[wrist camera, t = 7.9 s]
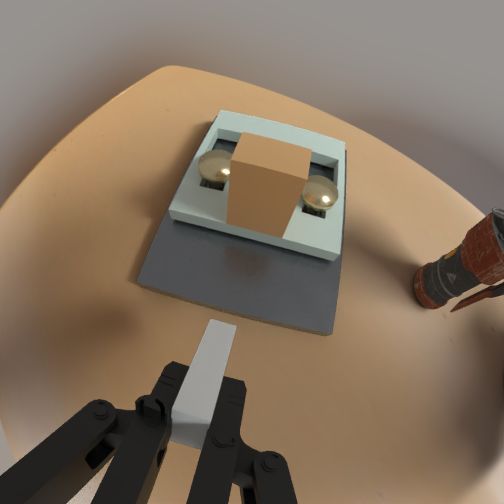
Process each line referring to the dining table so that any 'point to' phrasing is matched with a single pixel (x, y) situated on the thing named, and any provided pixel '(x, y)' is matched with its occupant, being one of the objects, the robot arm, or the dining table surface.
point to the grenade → (466, 267)
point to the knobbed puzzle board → (266, 186)
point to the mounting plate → (247, 260)
